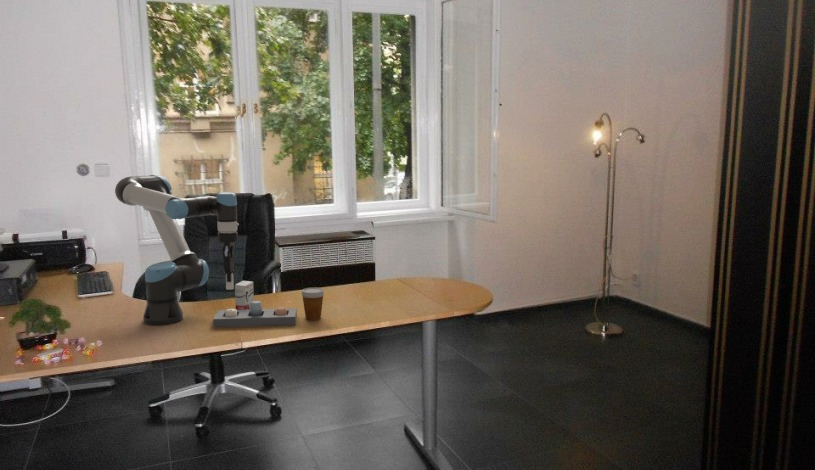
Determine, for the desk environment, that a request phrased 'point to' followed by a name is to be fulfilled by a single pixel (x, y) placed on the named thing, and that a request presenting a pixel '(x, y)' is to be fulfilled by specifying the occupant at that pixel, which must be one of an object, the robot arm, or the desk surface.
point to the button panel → (255, 318)
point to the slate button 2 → (256, 308)
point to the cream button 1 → (230, 312)
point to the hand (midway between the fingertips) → (229, 289)
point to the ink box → (244, 295)
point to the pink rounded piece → (281, 311)
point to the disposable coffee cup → (312, 302)
